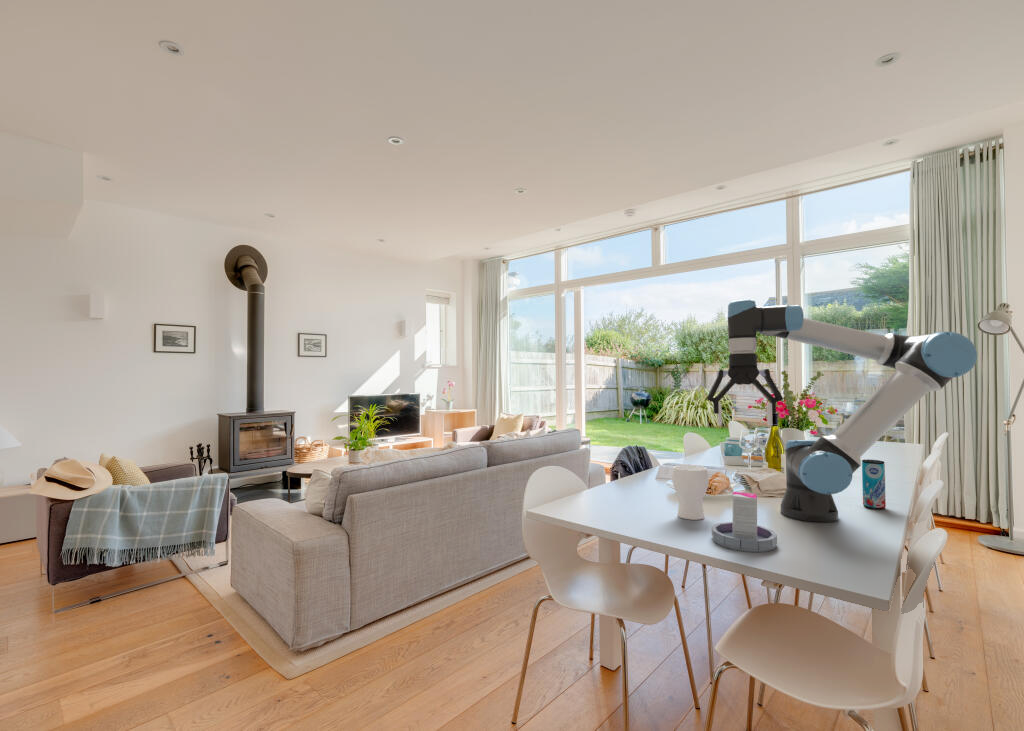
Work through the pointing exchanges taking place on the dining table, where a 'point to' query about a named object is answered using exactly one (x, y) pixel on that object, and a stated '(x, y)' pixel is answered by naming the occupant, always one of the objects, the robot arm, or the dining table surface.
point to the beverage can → (873, 484)
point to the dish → (762, 544)
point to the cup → (690, 490)
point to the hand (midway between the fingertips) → (744, 425)
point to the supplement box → (744, 516)
